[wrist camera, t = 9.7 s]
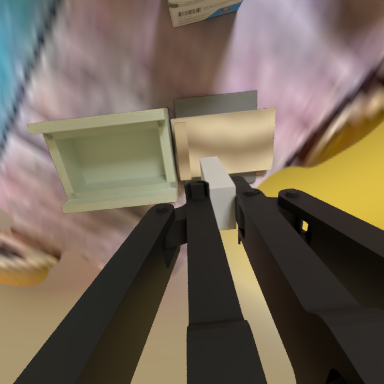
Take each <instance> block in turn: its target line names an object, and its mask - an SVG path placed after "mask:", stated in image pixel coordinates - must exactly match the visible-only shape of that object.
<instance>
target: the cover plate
mask: <svg viewBox="0 0 384 384" xmlns="http://www.w3.org/2000/svg"><path fill="white" fill-rule="evenodd" d="M275 113H276V108H270V109H261V110H251V111H242V112H232V113H222V114H213V115H203V116H194V117H184V118H175V119H171V126H172V134H173V142H174V149H175V157H176V164H177V172H178V179H181V181H182V180H192V179H191V177H201V170H200V159H199V158H206V157H215V156H217V157H218V158H219V160H220V162H221V163H222V165H223V166H224V168H225V170H226V171H227V173H228V174H230V173H240V172H250V171H260V170H270V169H272V160H273V144H274V129H275Z"/></svg>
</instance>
